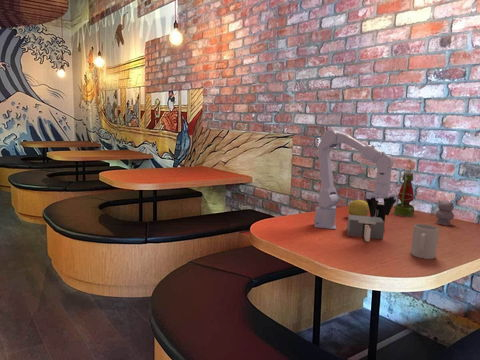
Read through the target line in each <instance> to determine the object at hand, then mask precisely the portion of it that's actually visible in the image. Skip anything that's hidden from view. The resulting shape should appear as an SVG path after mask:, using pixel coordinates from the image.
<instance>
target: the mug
mask: <svg viewBox="0 0 480 360" xmlns="http://www.w3.org/2000/svg"><path fill="white" fill-rule="evenodd" d="M439 233H440V228H439V227H437V226H436V225H432V224H426V223H416V224H414V225H413V231H412V240H411V247H410V255H411V256H413V257H416V258H418V259H423V258H424V260H433V258H434V259H435V258H437V249H438V241H439Z"/></svg>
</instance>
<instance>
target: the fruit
mask: <svg viewBox="0 0 480 360" xmlns="http://www.w3.org/2000/svg"><path fill="white" fill-rule="evenodd" d="M347 211H348V213H349V214H348V215H357V216H368V215H369V214H370V211H369V206H368V203H367V201H366V200H363V199H355V200H352V201H350V203H349V204H348V207H347Z"/></svg>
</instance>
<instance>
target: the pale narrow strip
mask: <svg viewBox="0 0 480 360" xmlns="http://www.w3.org/2000/svg"><path fill="white" fill-rule="evenodd" d="M370 232H371V228H370V226H369V225H368V224H363V233H362V237H363V238H364V240H365V242H370V240H371V238H370Z"/></svg>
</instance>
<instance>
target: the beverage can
mask: <svg viewBox="0 0 480 360" xmlns="http://www.w3.org/2000/svg"><path fill="white" fill-rule="evenodd" d="M369 217H379V218H382V220H383V221H384V223H386V215H385V214H384V202H383V201H382V202H381V201H379V202H378V204H377V207H376V213H375V216H371V215H370V214H369Z"/></svg>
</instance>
